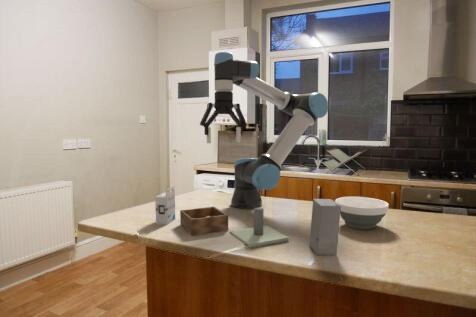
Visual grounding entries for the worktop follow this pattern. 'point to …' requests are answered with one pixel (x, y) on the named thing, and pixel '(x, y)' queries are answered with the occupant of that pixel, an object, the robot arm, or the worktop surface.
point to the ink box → (165, 207)
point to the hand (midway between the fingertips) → (223, 142)
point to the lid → (259, 232)
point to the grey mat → (266, 244)
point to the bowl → (362, 211)
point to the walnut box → (203, 220)
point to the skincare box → (324, 226)
